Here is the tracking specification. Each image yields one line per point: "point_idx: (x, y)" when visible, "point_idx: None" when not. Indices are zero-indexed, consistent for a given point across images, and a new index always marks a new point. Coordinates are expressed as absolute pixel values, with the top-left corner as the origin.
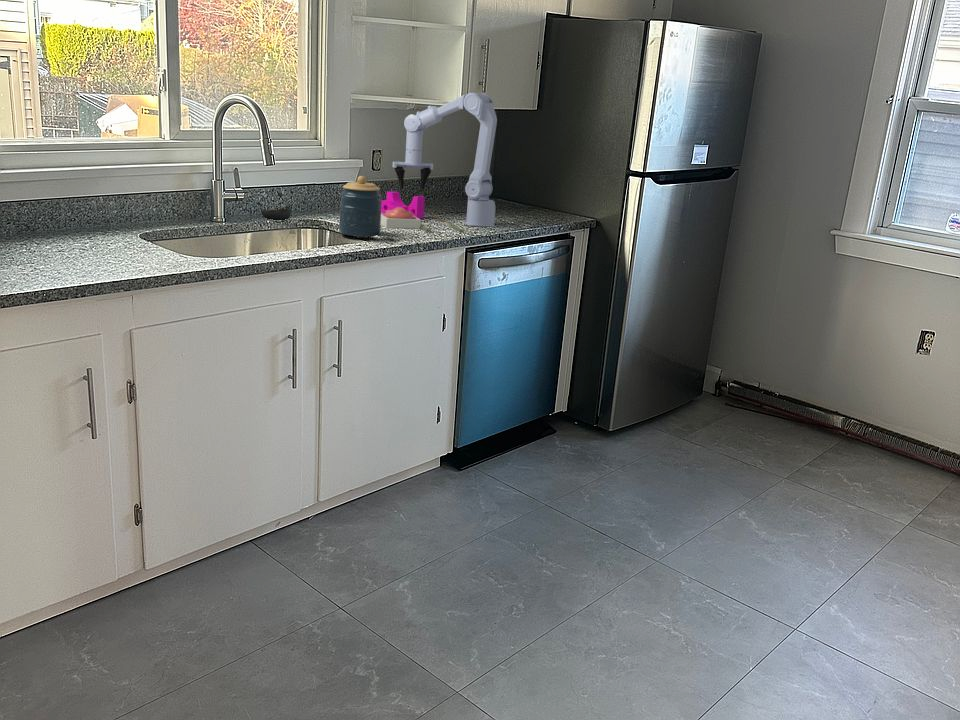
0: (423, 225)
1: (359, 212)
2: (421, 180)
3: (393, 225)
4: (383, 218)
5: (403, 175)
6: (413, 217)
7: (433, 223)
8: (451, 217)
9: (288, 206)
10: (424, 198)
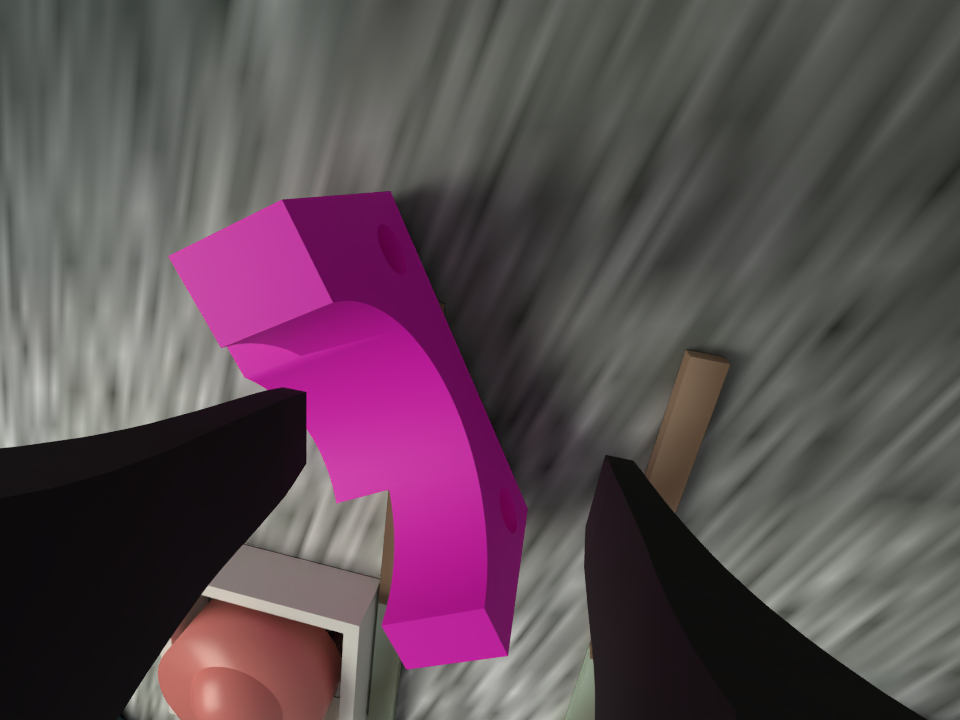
0: (390, 716)
1: None
2: (626, 567)
3: None
4: None
5: (140, 663)
6: (341, 692)
7: (536, 605)
8: (926, 380)
9: None
10: (505, 639)
